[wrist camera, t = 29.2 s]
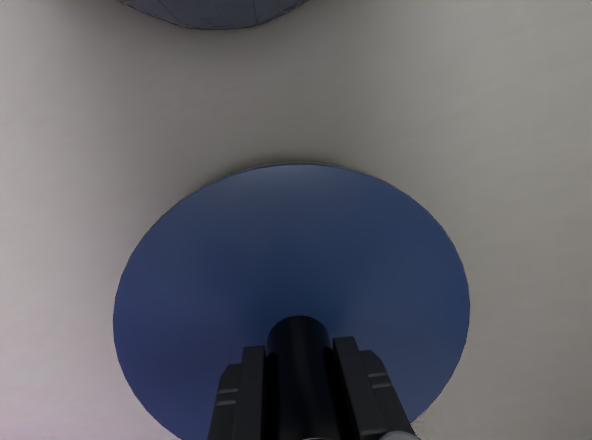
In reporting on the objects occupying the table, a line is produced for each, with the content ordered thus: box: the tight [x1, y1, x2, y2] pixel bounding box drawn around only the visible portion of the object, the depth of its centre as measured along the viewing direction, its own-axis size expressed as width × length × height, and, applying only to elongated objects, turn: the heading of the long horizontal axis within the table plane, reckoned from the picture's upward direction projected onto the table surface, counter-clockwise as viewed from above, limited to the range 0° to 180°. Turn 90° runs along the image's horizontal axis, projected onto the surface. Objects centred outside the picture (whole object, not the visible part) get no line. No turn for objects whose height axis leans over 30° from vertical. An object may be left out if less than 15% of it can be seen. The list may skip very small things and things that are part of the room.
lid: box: [113, 162, 470, 440], centre depth 10 cm, size 14×14×6 cm
